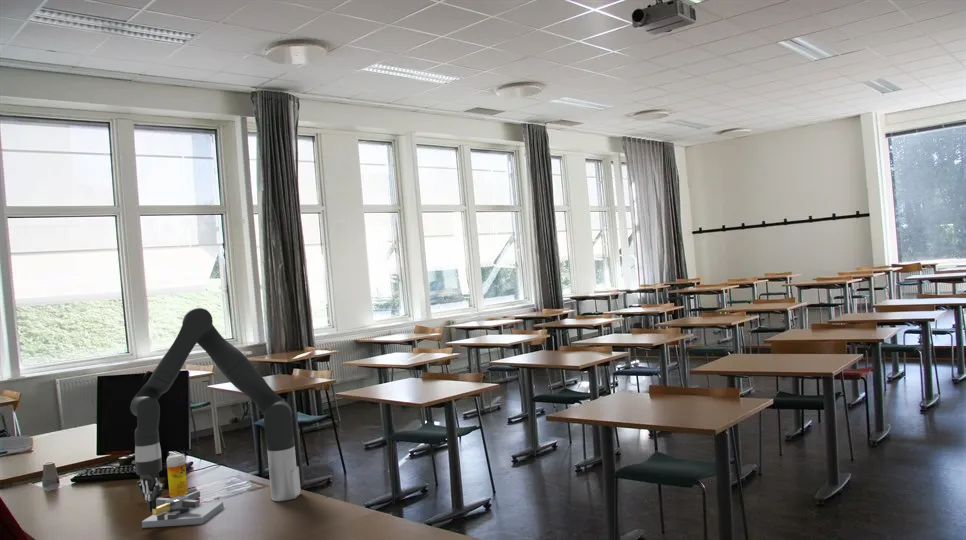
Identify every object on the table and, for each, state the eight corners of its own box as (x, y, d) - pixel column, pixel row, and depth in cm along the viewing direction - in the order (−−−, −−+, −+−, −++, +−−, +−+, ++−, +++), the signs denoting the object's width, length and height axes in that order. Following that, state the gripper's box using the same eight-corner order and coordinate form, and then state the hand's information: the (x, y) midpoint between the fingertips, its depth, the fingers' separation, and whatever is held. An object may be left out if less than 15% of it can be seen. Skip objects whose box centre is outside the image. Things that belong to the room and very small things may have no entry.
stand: (223, 507, 233) (222, 497, 233) (202, 523, 218) (201, 513, 218) (167, 511, 235) (166, 501, 235) (142, 527, 220) (141, 517, 220)
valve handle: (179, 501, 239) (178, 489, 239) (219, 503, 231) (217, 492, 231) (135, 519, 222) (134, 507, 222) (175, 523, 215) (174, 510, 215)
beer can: (180, 499, 249) (177, 457, 249) (166, 499, 250) (162, 458, 250) (191, 493, 255) (187, 453, 255) (176, 493, 256) (173, 453, 256)
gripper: (171, 456, 220) (174, 510, 220) (148, 453, 228) (152, 505, 228) (148, 462, 214) (152, 518, 214) (125, 459, 222) (129, 512, 221)
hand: (152, 511), depth 221 cm, fingers closed
